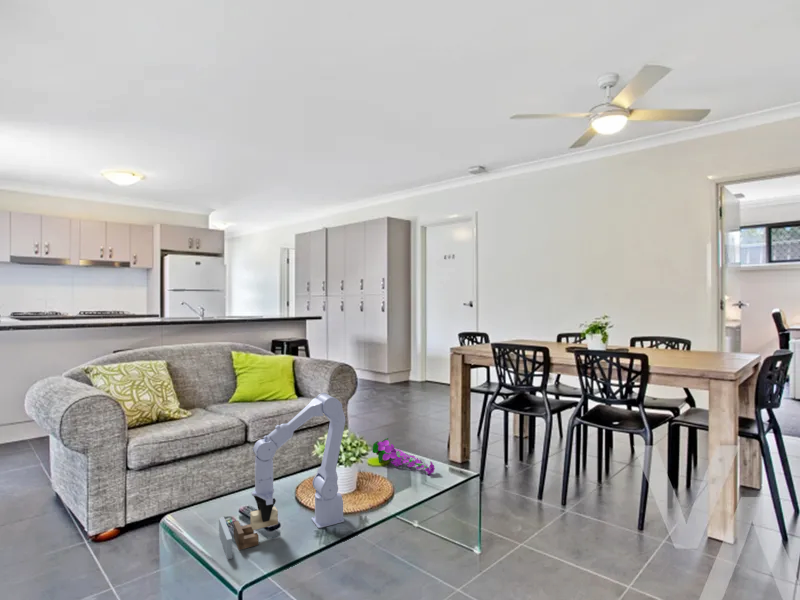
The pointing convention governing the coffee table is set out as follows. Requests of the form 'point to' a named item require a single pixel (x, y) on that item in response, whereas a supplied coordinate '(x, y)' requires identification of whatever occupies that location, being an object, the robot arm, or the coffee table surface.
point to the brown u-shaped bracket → (245, 536)
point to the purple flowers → (389, 452)
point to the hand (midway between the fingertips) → (264, 518)
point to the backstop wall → (225, 538)
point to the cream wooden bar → (257, 519)
